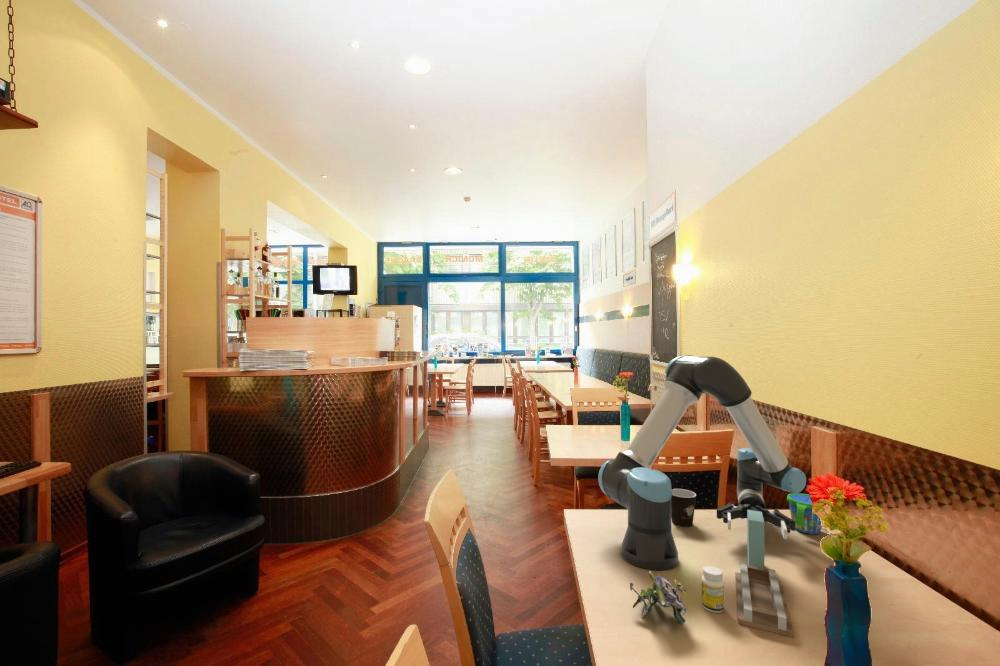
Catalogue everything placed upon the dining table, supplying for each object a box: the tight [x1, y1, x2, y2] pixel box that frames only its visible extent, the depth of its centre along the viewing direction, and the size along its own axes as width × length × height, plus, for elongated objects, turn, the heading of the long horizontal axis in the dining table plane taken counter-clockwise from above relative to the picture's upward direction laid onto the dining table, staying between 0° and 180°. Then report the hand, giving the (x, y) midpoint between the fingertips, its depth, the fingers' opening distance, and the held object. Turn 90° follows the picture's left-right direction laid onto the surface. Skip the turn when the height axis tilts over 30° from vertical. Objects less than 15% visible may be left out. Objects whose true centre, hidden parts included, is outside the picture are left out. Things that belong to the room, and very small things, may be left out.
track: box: [735, 563, 794, 638], centre depth 105 cm, size 22×10×4 cm, turn 154°
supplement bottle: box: [701, 565, 725, 614], centre depth 103 cm, size 5×5×8 cm
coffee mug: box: [671, 488, 697, 528], centre depth 151 cm, size 12×9×10 cm
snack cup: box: [786, 492, 823, 535], centre depth 146 cm, size 16×10×10 cm
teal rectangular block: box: [746, 510, 765, 568], centre depth 121 cm, size 8×4×14 cm, turn 154°
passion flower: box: [629, 570, 688, 626], centre depth 99 cm, size 11×11×12 cm
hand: (756, 529), depth 126 cm, fingers open, 13 cm apart
